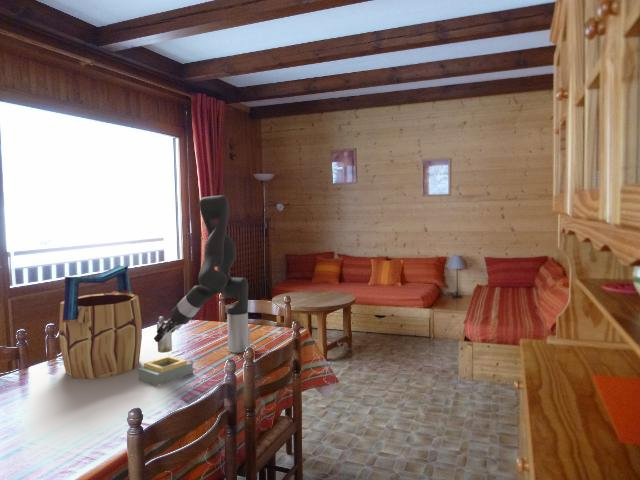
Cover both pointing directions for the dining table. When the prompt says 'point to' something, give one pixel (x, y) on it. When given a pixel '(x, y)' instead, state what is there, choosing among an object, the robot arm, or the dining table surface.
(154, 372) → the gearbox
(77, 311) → the bucket
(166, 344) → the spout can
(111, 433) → the dining table surface
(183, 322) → the robot arm
